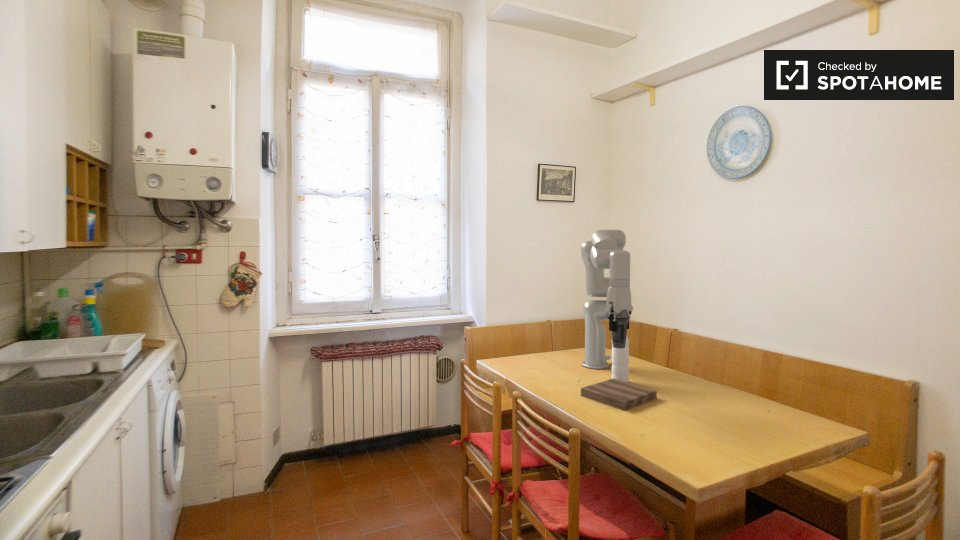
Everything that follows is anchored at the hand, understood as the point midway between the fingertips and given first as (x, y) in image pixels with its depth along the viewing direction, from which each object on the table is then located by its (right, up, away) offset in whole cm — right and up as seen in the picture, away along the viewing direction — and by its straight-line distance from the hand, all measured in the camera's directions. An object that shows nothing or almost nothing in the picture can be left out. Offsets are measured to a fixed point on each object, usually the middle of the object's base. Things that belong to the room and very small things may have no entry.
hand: (619, 329), depth 176 cm
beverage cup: (0, -7, 0) cm, 7 cm away
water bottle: (+6, -25, +20) cm, 33 cm away
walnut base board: (0, -26, +2) cm, 26 cm away
